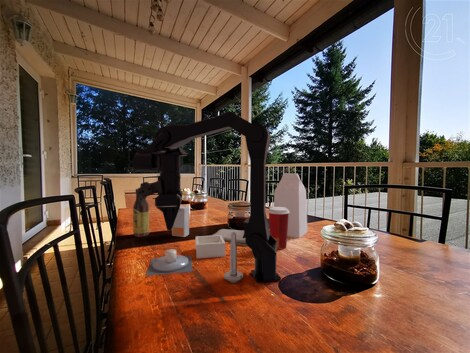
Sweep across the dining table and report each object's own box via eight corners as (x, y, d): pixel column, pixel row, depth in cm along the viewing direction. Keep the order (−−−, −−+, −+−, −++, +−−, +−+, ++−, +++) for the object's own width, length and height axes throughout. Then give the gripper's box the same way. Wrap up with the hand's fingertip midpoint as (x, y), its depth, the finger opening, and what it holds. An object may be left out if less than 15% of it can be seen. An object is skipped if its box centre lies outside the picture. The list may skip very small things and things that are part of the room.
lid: (188, 270, 67) (188, 255, 67) (150, 273, 65) (150, 258, 65) (188, 257, 77) (188, 244, 77) (154, 259, 75) (154, 246, 75)
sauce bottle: (133, 234, 106) (132, 188, 105) (148, 232, 108) (147, 187, 107) (133, 238, 100) (132, 189, 99) (150, 236, 102) (149, 188, 101)
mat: (192, 274, 67) (192, 271, 67) (145, 278, 64) (145, 275, 64) (191, 258, 78) (191, 255, 78) (152, 261, 76) (152, 258, 76)
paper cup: (288, 243, 93) (288, 206, 92) (290, 250, 85) (290, 210, 84) (267, 243, 93) (267, 206, 93) (267, 250, 86) (267, 210, 85)
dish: (225, 258, 78) (225, 243, 78) (196, 260, 76) (196, 244, 76) (221, 249, 87) (221, 235, 87) (195, 250, 85) (195, 236, 85)
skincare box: (171, 236, 103) (171, 207, 102) (176, 233, 107) (176, 206, 107) (184, 237, 101) (184, 208, 101) (189, 234, 105) (189, 206, 105)
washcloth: (252, 247, 90) (252, 239, 90) (207, 242, 96) (207, 235, 95) (259, 238, 101) (259, 231, 101) (218, 234, 107) (218, 227, 107)
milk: (307, 231, 110) (308, 173, 109) (299, 238, 100) (300, 174, 99) (282, 228, 116) (282, 172, 115) (272, 233, 107) (272, 173, 105)
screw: (243, 288, 59) (223, 288, 59) (243, 278, 64) (224, 278, 64) (243, 234, 59) (223, 234, 59) (242, 229, 63) (224, 229, 64)
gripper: (146, 171, 78) (146, 220, 79) (132, 173, 60) (133, 236, 60) (182, 171, 80) (182, 218, 81) (179, 172, 62) (180, 234, 62)
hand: (170, 226), depth 71 cm, fingers open, 9 cm apart
